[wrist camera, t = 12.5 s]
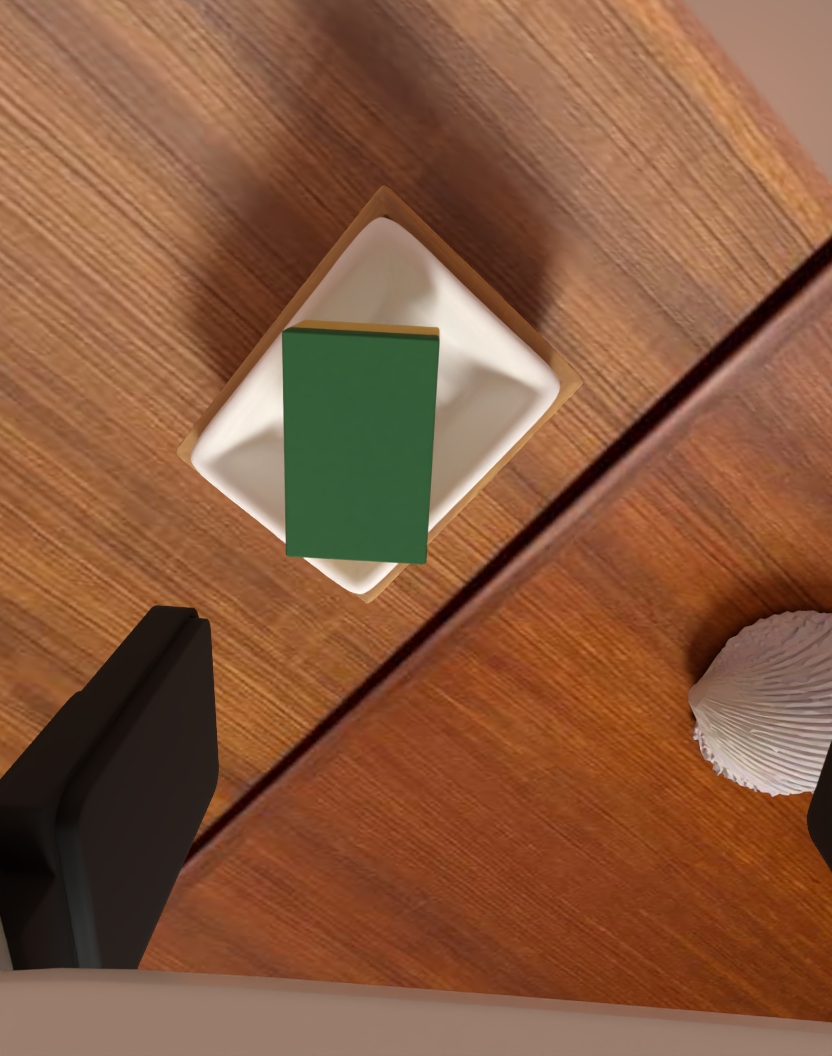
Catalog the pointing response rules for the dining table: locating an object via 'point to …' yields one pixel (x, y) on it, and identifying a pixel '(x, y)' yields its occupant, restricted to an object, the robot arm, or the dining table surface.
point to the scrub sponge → (358, 439)
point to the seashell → (769, 704)
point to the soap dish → (462, 385)
